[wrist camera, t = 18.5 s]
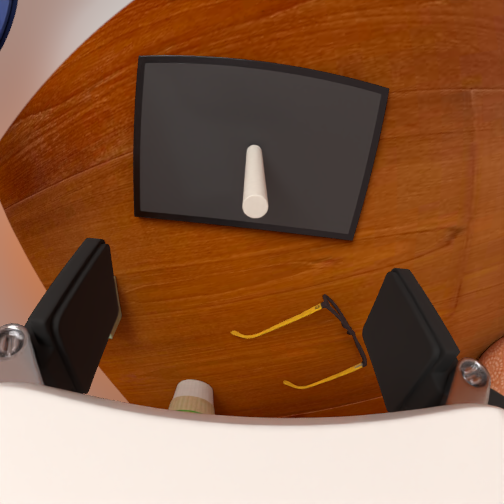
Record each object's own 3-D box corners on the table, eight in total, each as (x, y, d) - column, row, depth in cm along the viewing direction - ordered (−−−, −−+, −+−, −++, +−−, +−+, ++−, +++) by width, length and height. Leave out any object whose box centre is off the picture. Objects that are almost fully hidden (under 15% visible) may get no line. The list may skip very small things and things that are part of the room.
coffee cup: (234, 386, 49) (230, 468, 36) (208, 410, 53) (201, 482, 41) (179, 365, 47) (163, 450, 34) (158, 391, 51) (143, 465, 38)
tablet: (141, 56, 25) (138, 55, 24) (386, 88, 26) (390, 88, 26) (136, 213, 34) (133, 217, 33) (350, 237, 35) (352, 241, 34)
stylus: (247, 142, 29) (244, 193, 17) (262, 144, 29) (270, 196, 17) (245, 156, 29) (240, 217, 17) (260, 157, 30) (266, 220, 18)
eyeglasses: (366, 344, 44) (372, 364, 41) (283, 380, 48) (285, 400, 45) (327, 281, 38) (333, 302, 35) (230, 330, 42) (228, 352, 39)
